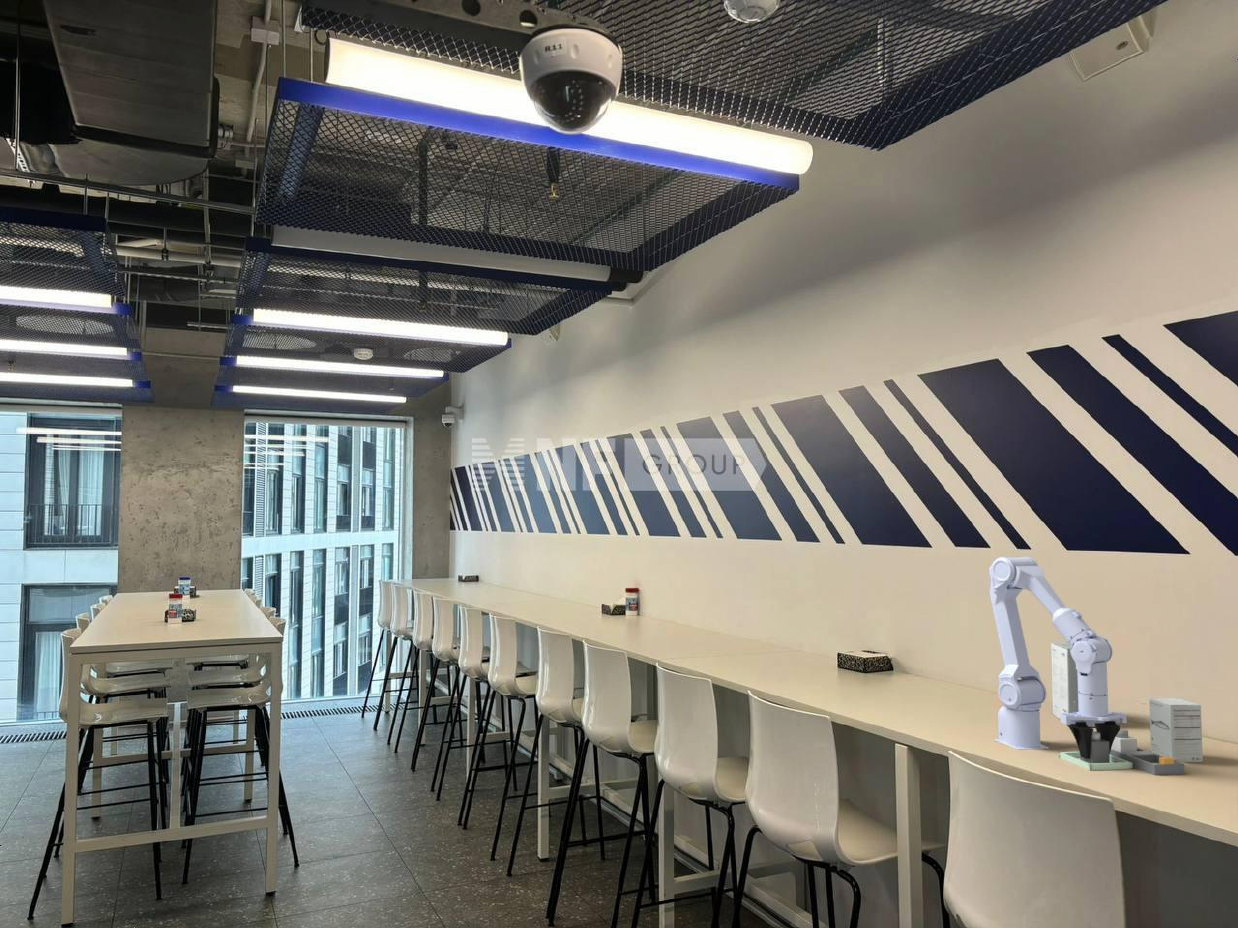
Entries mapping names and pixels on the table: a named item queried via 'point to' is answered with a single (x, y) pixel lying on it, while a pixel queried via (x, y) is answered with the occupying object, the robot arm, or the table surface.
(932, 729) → the table surface
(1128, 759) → the power strip
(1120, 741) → the twin plug
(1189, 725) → the supplement box
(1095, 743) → the plug
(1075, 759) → the tray
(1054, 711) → the hard drive box
